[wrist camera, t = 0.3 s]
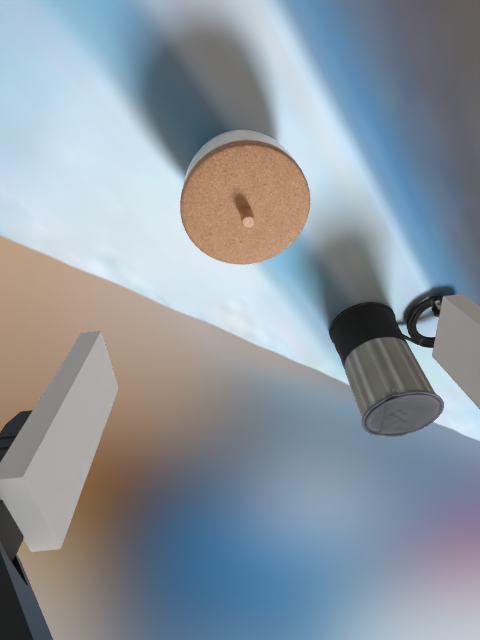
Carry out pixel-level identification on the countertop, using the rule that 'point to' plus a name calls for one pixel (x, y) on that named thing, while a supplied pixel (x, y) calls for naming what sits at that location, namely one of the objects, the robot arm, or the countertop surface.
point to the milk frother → (386, 368)
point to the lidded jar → (244, 198)
